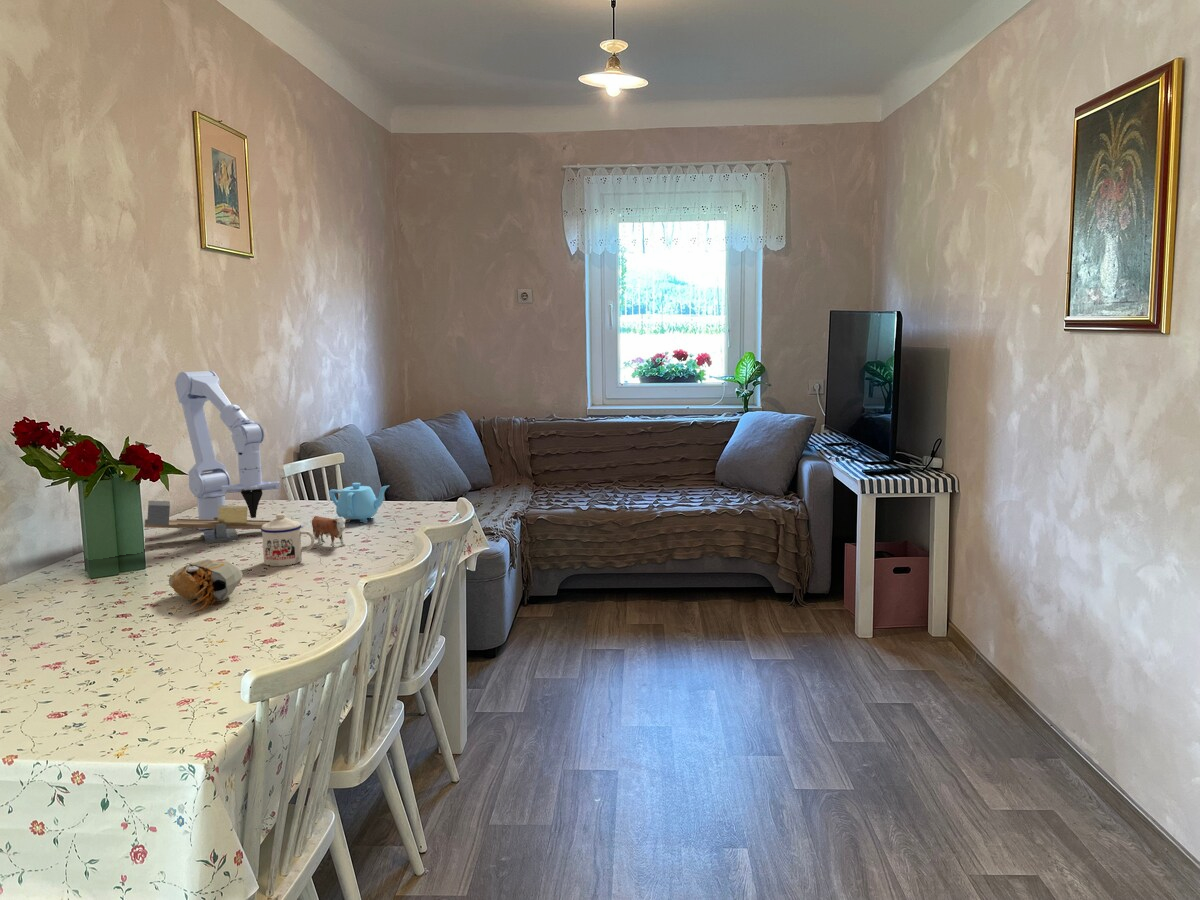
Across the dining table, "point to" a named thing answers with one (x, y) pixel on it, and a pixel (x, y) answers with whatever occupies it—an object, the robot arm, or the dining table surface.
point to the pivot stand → (220, 534)
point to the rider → (232, 514)
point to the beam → (160, 519)
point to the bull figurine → (328, 528)
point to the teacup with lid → (283, 541)
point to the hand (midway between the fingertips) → (253, 517)
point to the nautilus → (206, 581)
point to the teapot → (357, 502)
